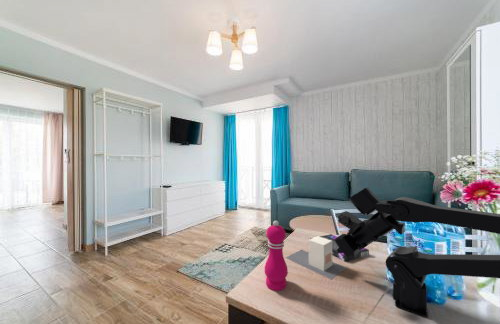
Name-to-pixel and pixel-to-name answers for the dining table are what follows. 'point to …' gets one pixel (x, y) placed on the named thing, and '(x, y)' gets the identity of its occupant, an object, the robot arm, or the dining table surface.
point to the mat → (303, 259)
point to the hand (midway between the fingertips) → (338, 251)
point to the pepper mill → (276, 258)
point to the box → (341, 255)
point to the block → (320, 253)
